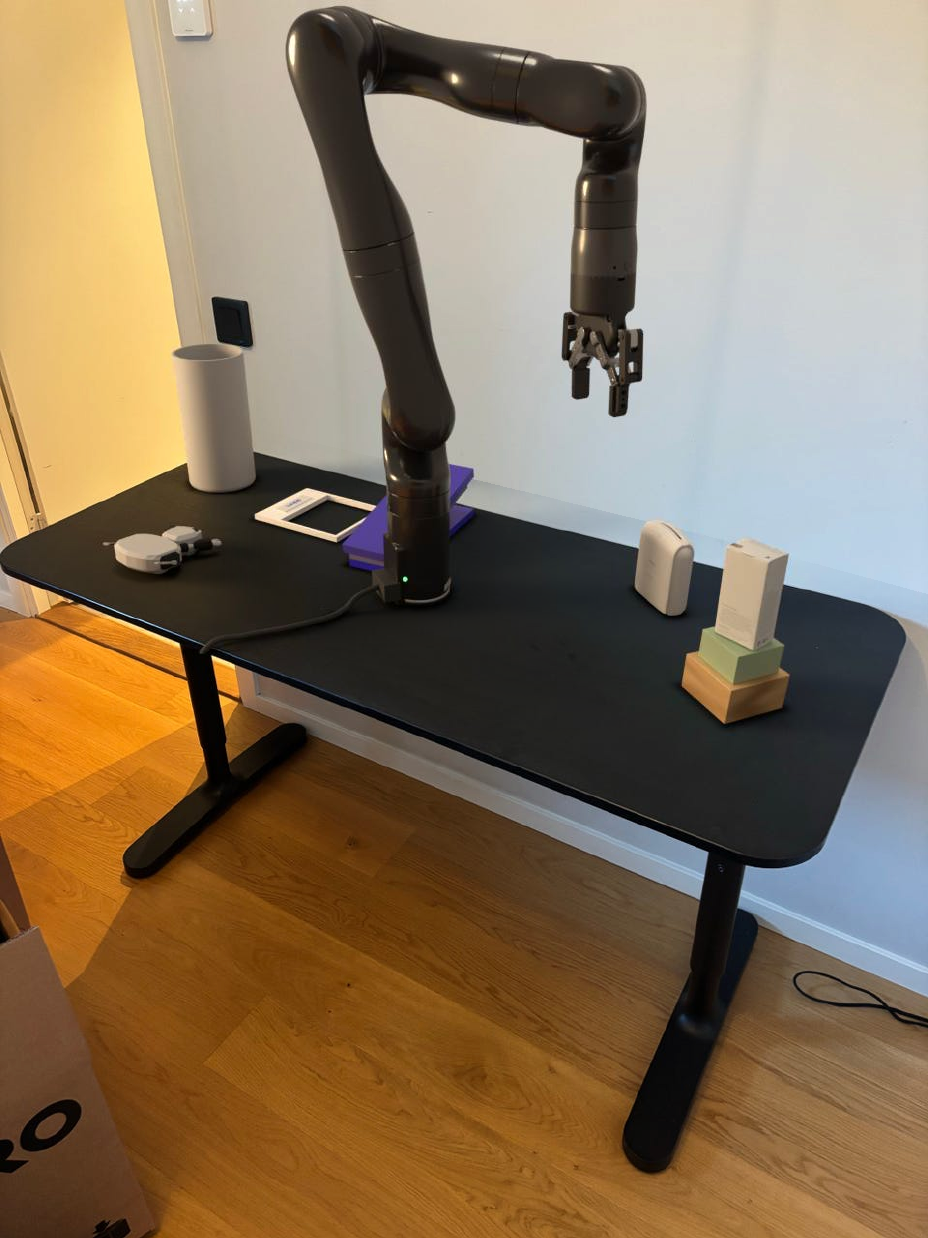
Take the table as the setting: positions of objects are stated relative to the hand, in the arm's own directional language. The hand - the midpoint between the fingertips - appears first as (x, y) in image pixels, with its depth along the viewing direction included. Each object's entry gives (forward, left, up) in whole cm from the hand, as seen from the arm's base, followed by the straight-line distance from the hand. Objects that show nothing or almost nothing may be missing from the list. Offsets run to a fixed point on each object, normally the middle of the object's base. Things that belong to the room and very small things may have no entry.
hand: (598, 406), depth 112 cm
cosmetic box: (+11, -21, -24) cm, 34 cm away
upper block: (+11, -21, -28) cm, 37 cm away
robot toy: (-50, +45, -33) cm, 75 cm away
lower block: (+11, -21, -33) cm, 41 cm away
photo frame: (-22, +53, -33) cm, 67 cm away
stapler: (-10, +38, -33) cm, 52 cm away
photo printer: (+17, +4, -33) cm, 38 cm away
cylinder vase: (-35, +76, -33) cm, 90 cm away
